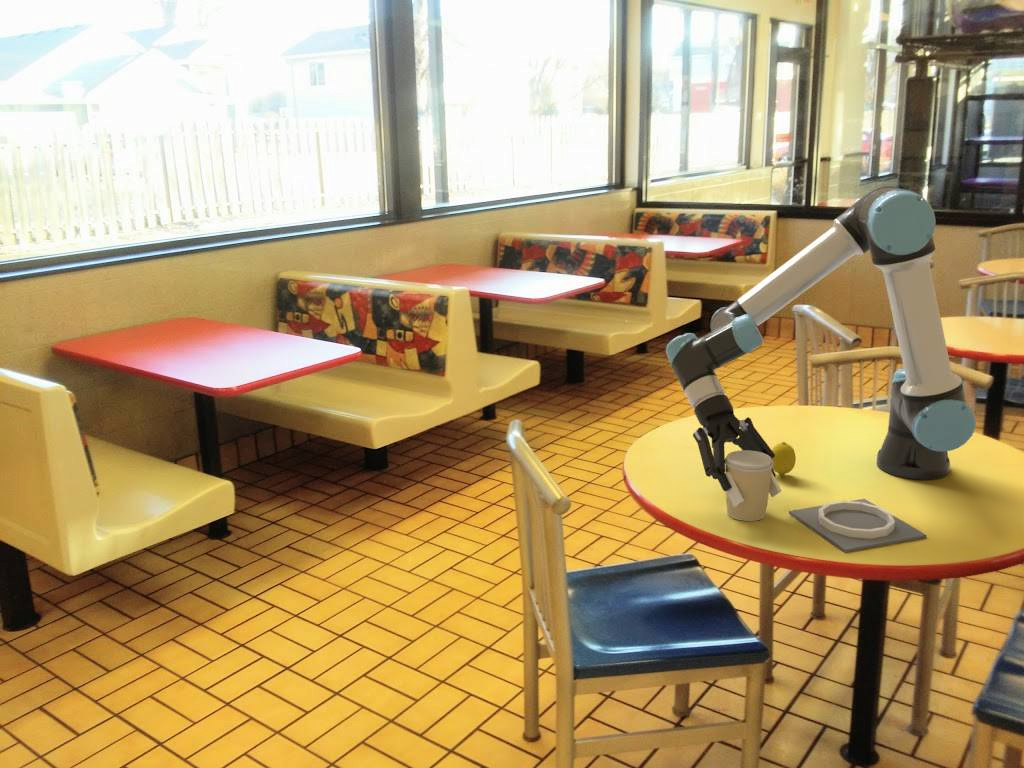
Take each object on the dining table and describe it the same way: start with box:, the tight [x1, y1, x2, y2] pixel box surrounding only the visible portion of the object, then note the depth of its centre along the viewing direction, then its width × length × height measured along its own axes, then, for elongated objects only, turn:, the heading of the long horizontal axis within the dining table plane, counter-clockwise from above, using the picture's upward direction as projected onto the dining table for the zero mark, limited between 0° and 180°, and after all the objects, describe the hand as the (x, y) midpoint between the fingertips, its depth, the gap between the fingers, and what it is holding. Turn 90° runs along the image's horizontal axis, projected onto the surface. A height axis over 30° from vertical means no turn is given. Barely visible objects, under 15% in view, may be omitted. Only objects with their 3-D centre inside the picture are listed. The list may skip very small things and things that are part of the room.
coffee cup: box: [725, 449, 773, 522], centre depth 180 cm, size 9×9×12 cm
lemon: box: [771, 441, 797, 477], centre depth 199 cm, size 6×6×8 cm
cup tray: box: [788, 498, 927, 553], centre depth 175 cm, size 18×18×2 cm
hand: (758, 499), depth 177 cm, fingers closed on coffee cup, 9 cm apart
